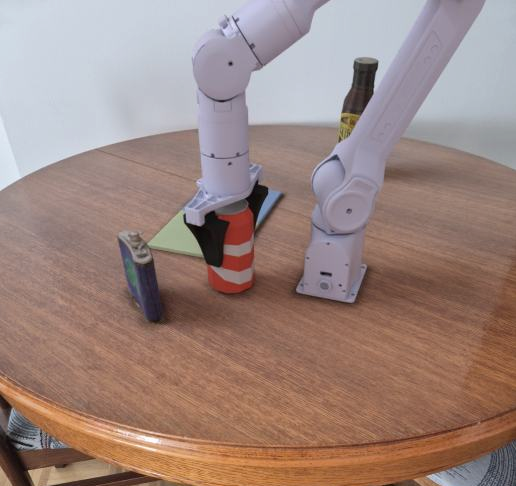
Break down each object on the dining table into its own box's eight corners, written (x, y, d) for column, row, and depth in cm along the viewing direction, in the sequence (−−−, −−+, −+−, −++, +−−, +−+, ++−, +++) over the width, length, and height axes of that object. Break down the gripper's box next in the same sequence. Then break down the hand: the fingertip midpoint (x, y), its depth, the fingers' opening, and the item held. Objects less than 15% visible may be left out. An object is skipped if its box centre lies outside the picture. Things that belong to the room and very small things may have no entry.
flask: (125, 289, 75) (111, 218, 68) (146, 283, 76) (134, 213, 69) (148, 326, 69) (134, 252, 62) (170, 319, 70) (159, 246, 63)
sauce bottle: (329, 178, 102) (337, 61, 89) (341, 166, 106) (351, 53, 93) (362, 184, 99) (376, 65, 86) (373, 172, 103) (388, 57, 90)
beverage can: (239, 301, 72) (235, 220, 64) (200, 288, 75) (192, 207, 67) (262, 279, 76) (261, 200, 68) (225, 267, 79) (220, 189, 71)
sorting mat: (231, 263, 80) (231, 259, 79) (147, 247, 83) (146, 244, 83) (281, 194, 97) (281, 191, 96) (209, 184, 100) (209, 181, 100)
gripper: (229, 124, 69) (233, 221, 78) (158, 164, 60) (172, 269, 69) (277, 134, 67) (276, 232, 76) (211, 177, 57) (219, 284, 66)
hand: (230, 251), depth 72 cm, fingers open, 7 cm apart
